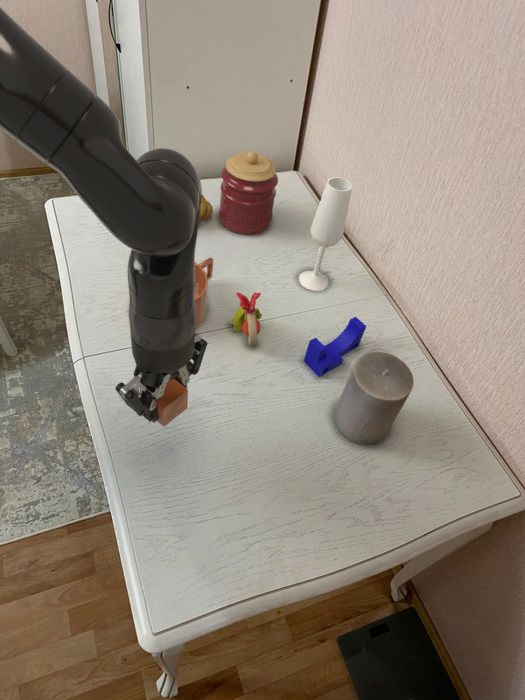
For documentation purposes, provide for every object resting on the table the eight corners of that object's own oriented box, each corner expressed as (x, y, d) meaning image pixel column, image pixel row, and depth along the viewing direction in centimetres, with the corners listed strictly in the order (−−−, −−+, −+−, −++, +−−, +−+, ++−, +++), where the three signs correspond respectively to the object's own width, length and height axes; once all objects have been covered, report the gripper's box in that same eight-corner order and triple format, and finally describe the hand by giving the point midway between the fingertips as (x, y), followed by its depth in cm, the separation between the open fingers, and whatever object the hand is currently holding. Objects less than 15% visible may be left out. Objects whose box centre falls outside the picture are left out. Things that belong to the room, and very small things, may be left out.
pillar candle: (390, 408, 91) (419, 355, 80) (383, 453, 85) (414, 403, 74) (338, 392, 92) (360, 338, 81) (328, 435, 86) (350, 383, 75)
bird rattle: (266, 349, 100) (258, 307, 102) (279, 331, 89) (270, 284, 91) (235, 353, 98) (228, 309, 100) (245, 335, 88) (237, 287, 90)
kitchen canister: (277, 234, 121) (289, 167, 108) (224, 238, 118) (230, 168, 104) (263, 203, 129) (272, 137, 116) (213, 205, 125) (217, 137, 112)
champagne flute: (312, 266, 115) (337, 170, 97) (334, 282, 112) (364, 186, 94) (292, 278, 111) (314, 180, 93) (315, 295, 109) (342, 198, 91)
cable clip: (319, 377, 94) (326, 356, 89) (303, 361, 96) (309, 340, 92) (363, 351, 100) (372, 331, 95) (347, 337, 102) (355, 316, 97)
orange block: (164, 427, 70) (163, 409, 66) (142, 407, 71) (140, 389, 68) (187, 408, 72) (188, 389, 69) (165, 389, 74) (165, 371, 70)
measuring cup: (168, 346, 94) (167, 318, 89) (117, 306, 99) (113, 277, 94) (235, 298, 105) (239, 271, 99) (187, 264, 110) (187, 236, 104)
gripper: (185, 281, 64) (183, 365, 77) (91, 338, 56) (106, 421, 69) (228, 312, 61) (218, 393, 74) (136, 377, 53) (143, 455, 66)
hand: (164, 406), depth 71 cm, fingers closed on orange block, 4 cm apart
